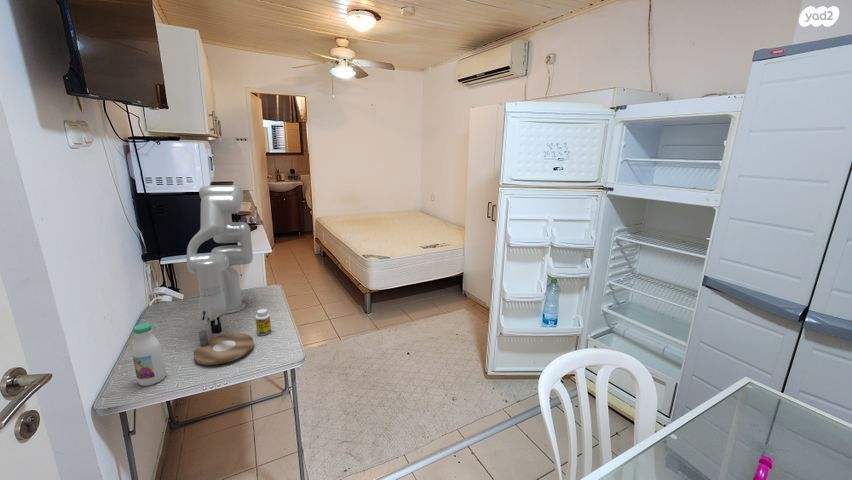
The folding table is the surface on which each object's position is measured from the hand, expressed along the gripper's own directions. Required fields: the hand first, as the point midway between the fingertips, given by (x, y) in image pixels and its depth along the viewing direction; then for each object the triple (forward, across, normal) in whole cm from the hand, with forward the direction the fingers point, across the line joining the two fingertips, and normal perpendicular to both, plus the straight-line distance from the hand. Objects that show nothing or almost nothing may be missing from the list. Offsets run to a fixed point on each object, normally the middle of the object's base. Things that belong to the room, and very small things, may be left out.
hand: (216, 332), depth 142 cm
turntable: (+3, +7, +7) cm, 10 cm away
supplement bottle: (+4, -9, +14) cm, 18 cm away
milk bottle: (+5, +25, -7) cm, 26 cm away
